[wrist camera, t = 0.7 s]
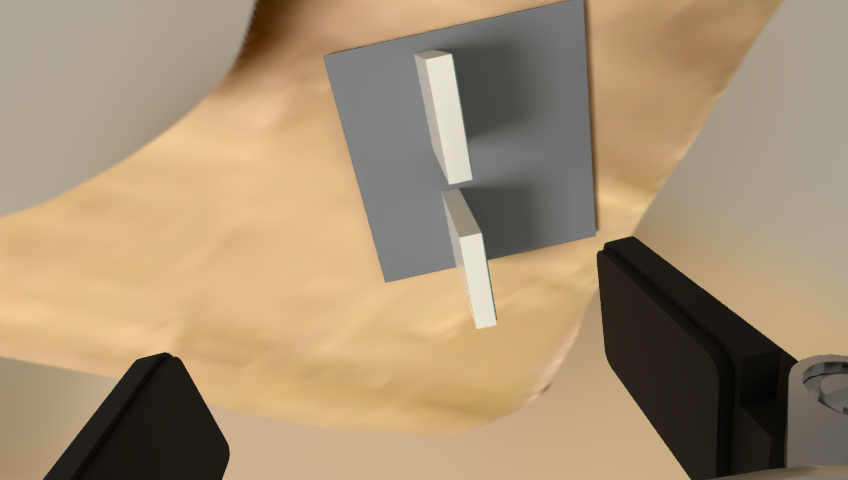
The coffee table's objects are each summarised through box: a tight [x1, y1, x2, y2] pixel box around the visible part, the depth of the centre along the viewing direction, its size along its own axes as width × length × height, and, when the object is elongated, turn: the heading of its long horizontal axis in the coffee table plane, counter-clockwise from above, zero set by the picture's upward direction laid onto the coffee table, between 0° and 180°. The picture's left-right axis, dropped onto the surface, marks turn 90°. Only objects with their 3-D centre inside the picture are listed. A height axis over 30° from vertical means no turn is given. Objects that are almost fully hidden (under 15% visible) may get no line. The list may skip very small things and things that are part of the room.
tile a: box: [414, 50, 473, 185], centre depth 26 cm, size 6×1×8 cm, turn 12°
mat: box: [323, 0, 596, 283], centre depth 31 cm, size 16×16×1 cm
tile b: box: [442, 188, 497, 329], centre depth 29 cm, size 6×1×8 cm, turn 12°
